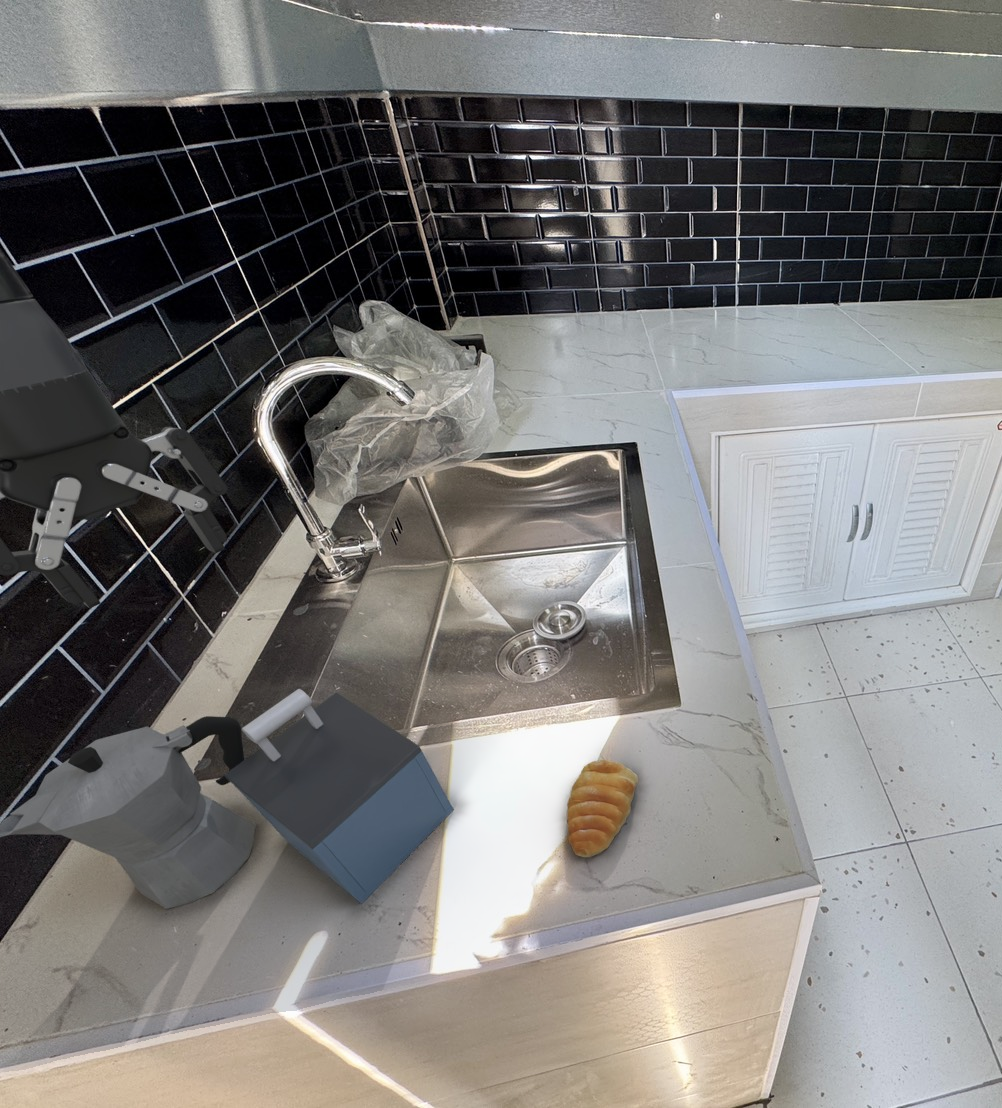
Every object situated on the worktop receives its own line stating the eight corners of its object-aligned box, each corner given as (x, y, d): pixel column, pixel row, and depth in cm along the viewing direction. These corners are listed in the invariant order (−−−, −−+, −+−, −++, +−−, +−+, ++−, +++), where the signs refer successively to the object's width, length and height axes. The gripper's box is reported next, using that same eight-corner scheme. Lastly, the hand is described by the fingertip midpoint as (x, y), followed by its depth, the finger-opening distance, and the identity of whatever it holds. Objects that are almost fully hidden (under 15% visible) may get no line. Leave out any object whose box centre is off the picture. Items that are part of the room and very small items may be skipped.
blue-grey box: (287, 842, 60) (233, 784, 54) (382, 760, 68) (344, 700, 61) (361, 904, 56) (312, 849, 49) (454, 809, 63) (422, 751, 57)
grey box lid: (227, 780, 54) (193, 743, 50) (339, 696, 61) (316, 660, 58) (312, 849, 49) (281, 815, 46) (422, 750, 57) (402, 714, 53)
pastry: (620, 864, 59) (615, 846, 57) (553, 857, 60) (546, 839, 57) (641, 777, 67) (638, 758, 64) (581, 772, 67) (576, 752, 65)
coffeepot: (124, 952, 53) (-38, 857, 41) (108, 873, 58) (-41, 769, 46) (317, 829, 61) (226, 723, 50) (288, 770, 66) (199, 661, 55)
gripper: (123, 351, 48) (235, 528, 56) (-153, 409, 38) (31, 613, 46) (155, 352, 44) (270, 542, 53) (-143, 416, 34) (56, 638, 43)
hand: (158, 575), depth 49 cm, fingers open, 8 cm apart
